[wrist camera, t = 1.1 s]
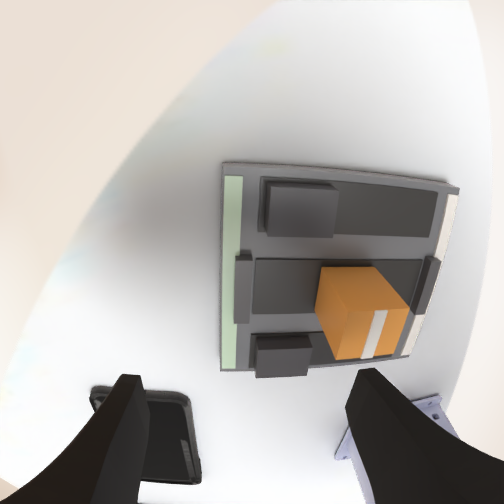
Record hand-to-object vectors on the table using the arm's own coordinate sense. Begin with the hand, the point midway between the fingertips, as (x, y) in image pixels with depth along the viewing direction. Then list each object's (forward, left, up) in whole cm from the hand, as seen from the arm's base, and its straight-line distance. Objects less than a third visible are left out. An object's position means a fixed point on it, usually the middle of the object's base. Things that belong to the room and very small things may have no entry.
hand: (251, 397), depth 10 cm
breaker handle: (-5, 0, -7) cm, 9 cm away
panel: (-6, 0, -8) cm, 10 cm away
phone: (+7, +17, -9) cm, 20 cm away
